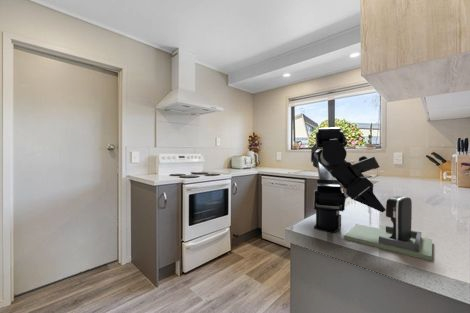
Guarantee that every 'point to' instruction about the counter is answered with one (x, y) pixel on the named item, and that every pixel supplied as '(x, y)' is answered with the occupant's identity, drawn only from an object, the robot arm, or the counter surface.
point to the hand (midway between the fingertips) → (381, 207)
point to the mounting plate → (391, 241)
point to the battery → (400, 217)
